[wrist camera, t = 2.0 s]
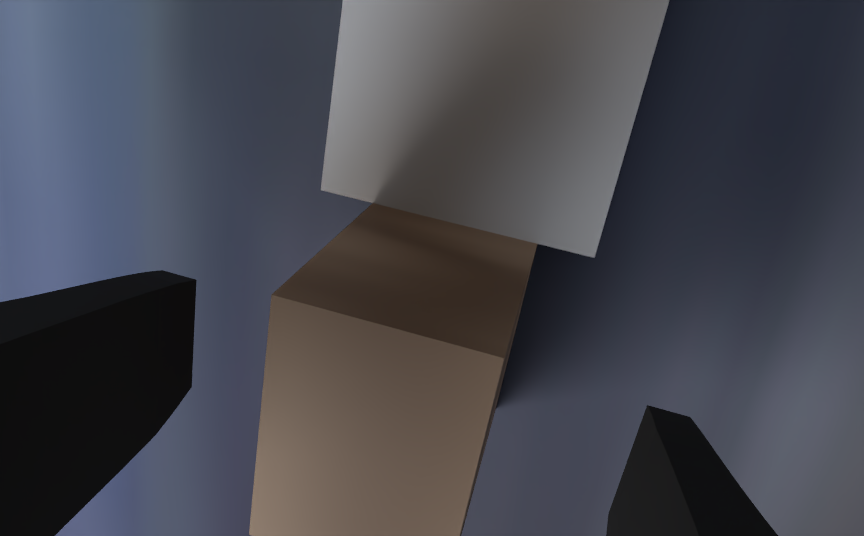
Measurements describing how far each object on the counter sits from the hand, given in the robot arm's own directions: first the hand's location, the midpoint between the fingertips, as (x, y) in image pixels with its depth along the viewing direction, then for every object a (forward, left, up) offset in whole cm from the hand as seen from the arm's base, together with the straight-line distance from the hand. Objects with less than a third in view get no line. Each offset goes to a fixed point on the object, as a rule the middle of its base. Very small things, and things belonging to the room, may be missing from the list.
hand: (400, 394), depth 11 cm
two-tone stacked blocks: (0, +4, -3) cm, 5 cm away
